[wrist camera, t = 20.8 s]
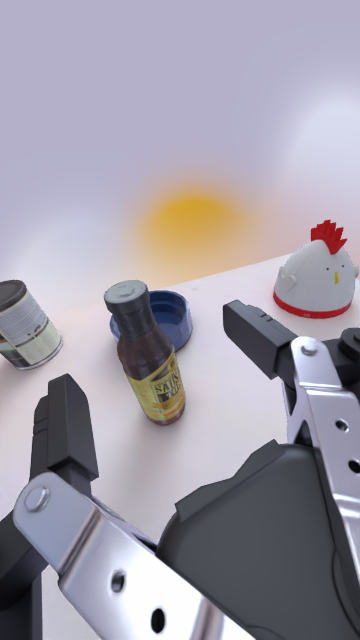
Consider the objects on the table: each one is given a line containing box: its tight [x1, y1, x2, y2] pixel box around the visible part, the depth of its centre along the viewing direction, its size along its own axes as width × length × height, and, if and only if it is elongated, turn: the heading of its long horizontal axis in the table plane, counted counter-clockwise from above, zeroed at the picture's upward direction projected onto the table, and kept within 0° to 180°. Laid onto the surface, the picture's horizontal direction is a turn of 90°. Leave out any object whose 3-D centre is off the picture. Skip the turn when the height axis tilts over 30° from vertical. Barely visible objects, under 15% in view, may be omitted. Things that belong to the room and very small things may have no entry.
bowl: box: [110, 291, 192, 352], centre depth 43 cm, size 15×15×5 cm
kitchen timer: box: [273, 220, 359, 318], centre depth 40 cm, size 14×14×15 cm
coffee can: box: [0, 280, 63, 370], centre depth 41 cm, size 10×10×14 cm
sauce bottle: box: [104, 280, 185, 425], centre depth 26 cm, size 7×6×20 cm
